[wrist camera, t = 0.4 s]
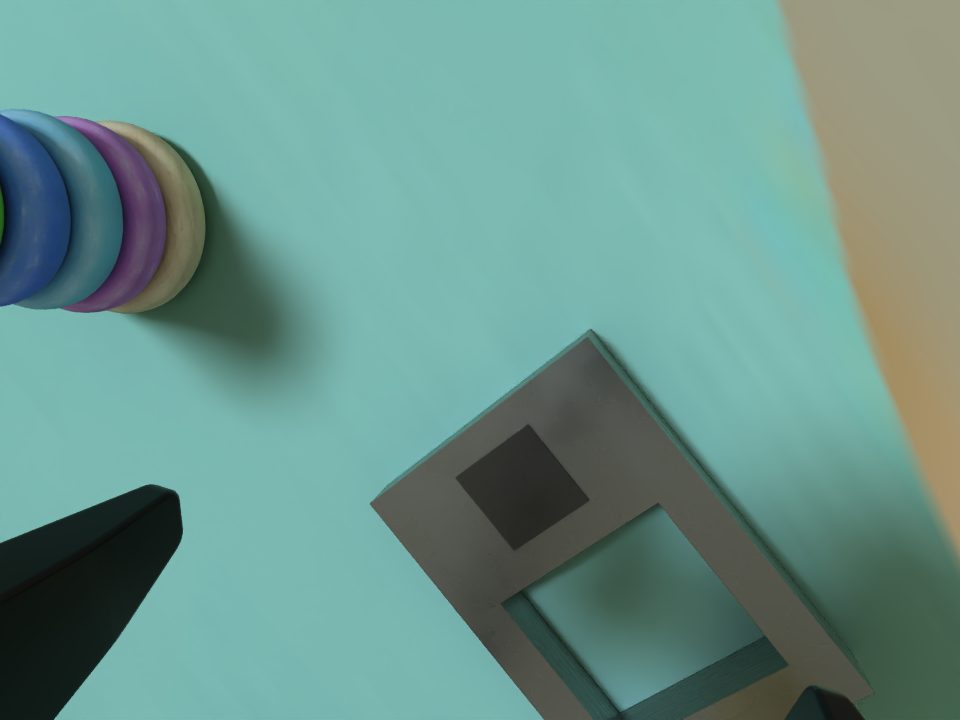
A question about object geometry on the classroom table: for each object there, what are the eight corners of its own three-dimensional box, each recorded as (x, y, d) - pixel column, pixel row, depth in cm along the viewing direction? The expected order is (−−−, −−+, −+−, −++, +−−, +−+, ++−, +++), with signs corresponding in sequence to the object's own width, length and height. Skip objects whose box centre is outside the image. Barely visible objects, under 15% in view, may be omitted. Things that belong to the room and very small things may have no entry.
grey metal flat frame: (619, 770, 26) (619, 814, 24) (388, 484, 26) (368, 504, 24) (853, 655, 23) (875, 695, 21) (590, 328, 23) (587, 337, 21)
